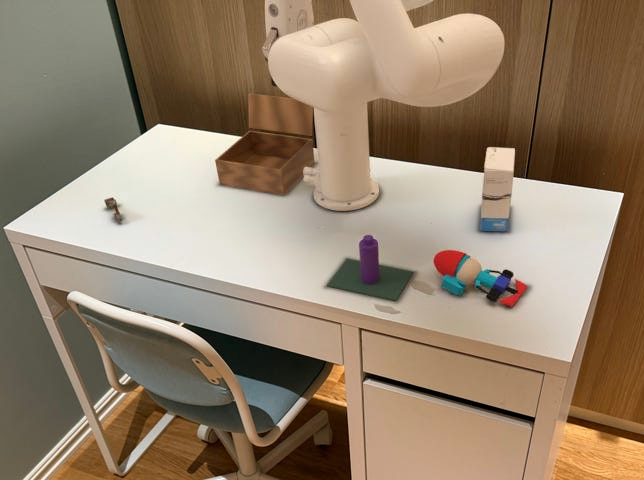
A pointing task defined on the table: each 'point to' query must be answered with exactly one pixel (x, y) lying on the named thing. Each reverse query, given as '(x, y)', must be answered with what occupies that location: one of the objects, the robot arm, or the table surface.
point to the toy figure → (474, 276)
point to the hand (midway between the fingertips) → (292, 75)
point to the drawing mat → (385, 288)
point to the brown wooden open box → (265, 162)
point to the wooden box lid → (280, 114)
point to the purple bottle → (369, 260)
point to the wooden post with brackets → (112, 203)
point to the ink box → (497, 189)
